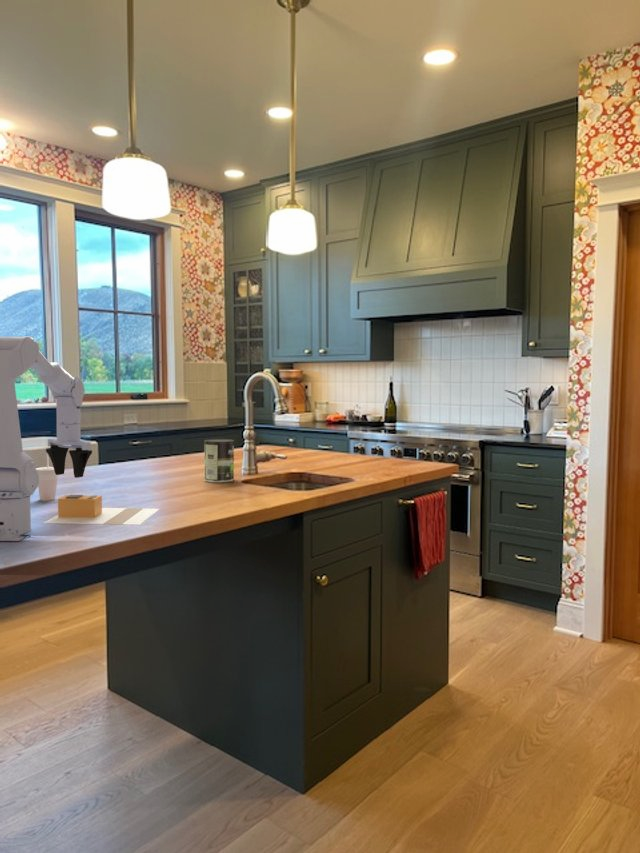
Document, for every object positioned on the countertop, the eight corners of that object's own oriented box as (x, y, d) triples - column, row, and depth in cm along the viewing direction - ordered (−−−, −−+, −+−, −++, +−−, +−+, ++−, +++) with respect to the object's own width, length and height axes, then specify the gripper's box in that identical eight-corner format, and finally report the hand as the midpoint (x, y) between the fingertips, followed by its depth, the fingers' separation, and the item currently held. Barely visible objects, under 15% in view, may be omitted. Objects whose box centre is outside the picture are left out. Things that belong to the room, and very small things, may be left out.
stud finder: (94, 517, 154) (94, 498, 154) (58, 516, 154) (57, 497, 154) (101, 513, 159) (101, 494, 159) (66, 512, 159) (66, 494, 159)
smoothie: (63, 500, 179) (62, 451, 178) (54, 505, 173) (54, 454, 172) (40, 500, 179) (39, 451, 178) (31, 504, 173) (30, 454, 172)
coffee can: (236, 478, 224) (236, 439, 223) (231, 483, 213) (231, 441, 212) (207, 477, 224) (207, 438, 223) (201, 482, 214) (201, 441, 213)
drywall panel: (139, 528, 148) (139, 524, 148) (42, 527, 148) (42, 522, 148) (159, 512, 166) (159, 508, 166) (72, 510, 166) (72, 507, 166)
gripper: (100, 424, 162) (100, 476, 163) (63, 421, 169) (64, 471, 170) (77, 425, 156) (77, 479, 157) (40, 422, 163) (41, 474, 164)
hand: (69, 475), depth 163 cm, fingers open, 7 cm apart
